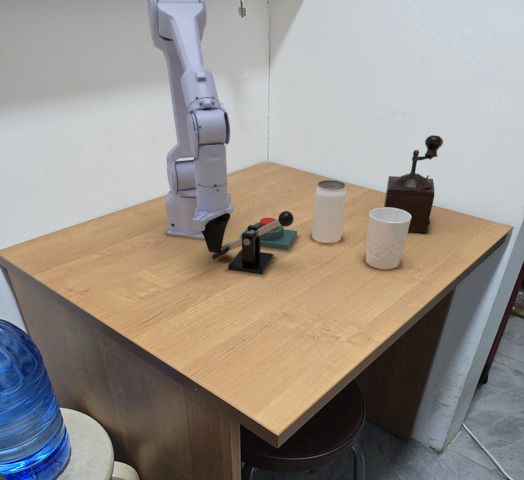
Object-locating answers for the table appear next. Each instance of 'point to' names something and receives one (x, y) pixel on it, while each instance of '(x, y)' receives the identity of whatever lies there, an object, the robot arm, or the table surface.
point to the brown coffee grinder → (414, 190)
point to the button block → (277, 238)
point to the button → (266, 222)
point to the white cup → (386, 237)
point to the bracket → (251, 255)
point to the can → (329, 211)
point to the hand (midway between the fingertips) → (214, 251)
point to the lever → (258, 232)
